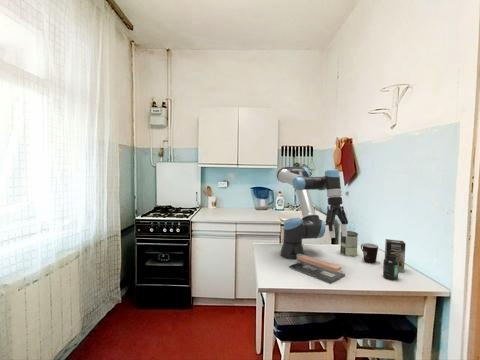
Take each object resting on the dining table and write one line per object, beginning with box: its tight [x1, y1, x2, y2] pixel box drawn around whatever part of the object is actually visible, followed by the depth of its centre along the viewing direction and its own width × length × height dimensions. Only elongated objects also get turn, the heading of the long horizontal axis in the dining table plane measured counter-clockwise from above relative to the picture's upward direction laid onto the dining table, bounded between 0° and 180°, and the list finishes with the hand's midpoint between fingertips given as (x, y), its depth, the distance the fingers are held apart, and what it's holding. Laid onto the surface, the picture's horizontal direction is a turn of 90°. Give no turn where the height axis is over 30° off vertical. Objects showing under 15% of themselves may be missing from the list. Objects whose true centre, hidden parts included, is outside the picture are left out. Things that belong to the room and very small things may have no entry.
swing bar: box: [296, 254, 342, 273], centre depth 145 cm, size 26×4×3 cm, turn 40°
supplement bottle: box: [382, 254, 399, 281], centre depth 138 cm, size 7×7×12 cm
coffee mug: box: [360, 242, 379, 265], centre depth 162 cm, size 12×9×10 cm
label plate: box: [288, 259, 346, 284], centre depth 145 cm, size 26×14×4 cm, turn 40°
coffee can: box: [340, 230, 359, 258], centre depth 174 cm, size 10×10×14 cm
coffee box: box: [384, 238, 406, 274], centre depth 148 cm, size 9×6×16 cm
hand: (338, 237), depth 142 cm, fingers open, 13 cm apart
